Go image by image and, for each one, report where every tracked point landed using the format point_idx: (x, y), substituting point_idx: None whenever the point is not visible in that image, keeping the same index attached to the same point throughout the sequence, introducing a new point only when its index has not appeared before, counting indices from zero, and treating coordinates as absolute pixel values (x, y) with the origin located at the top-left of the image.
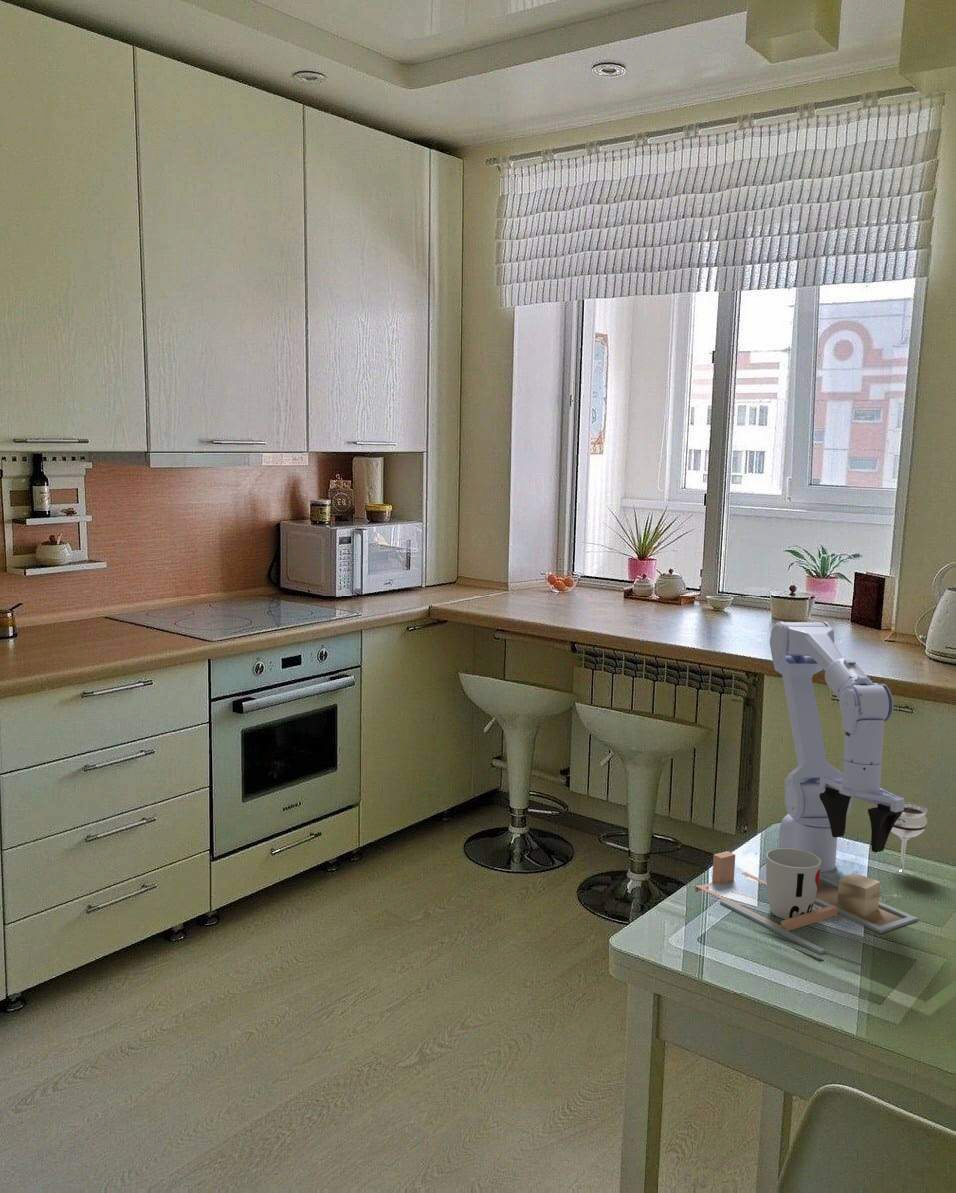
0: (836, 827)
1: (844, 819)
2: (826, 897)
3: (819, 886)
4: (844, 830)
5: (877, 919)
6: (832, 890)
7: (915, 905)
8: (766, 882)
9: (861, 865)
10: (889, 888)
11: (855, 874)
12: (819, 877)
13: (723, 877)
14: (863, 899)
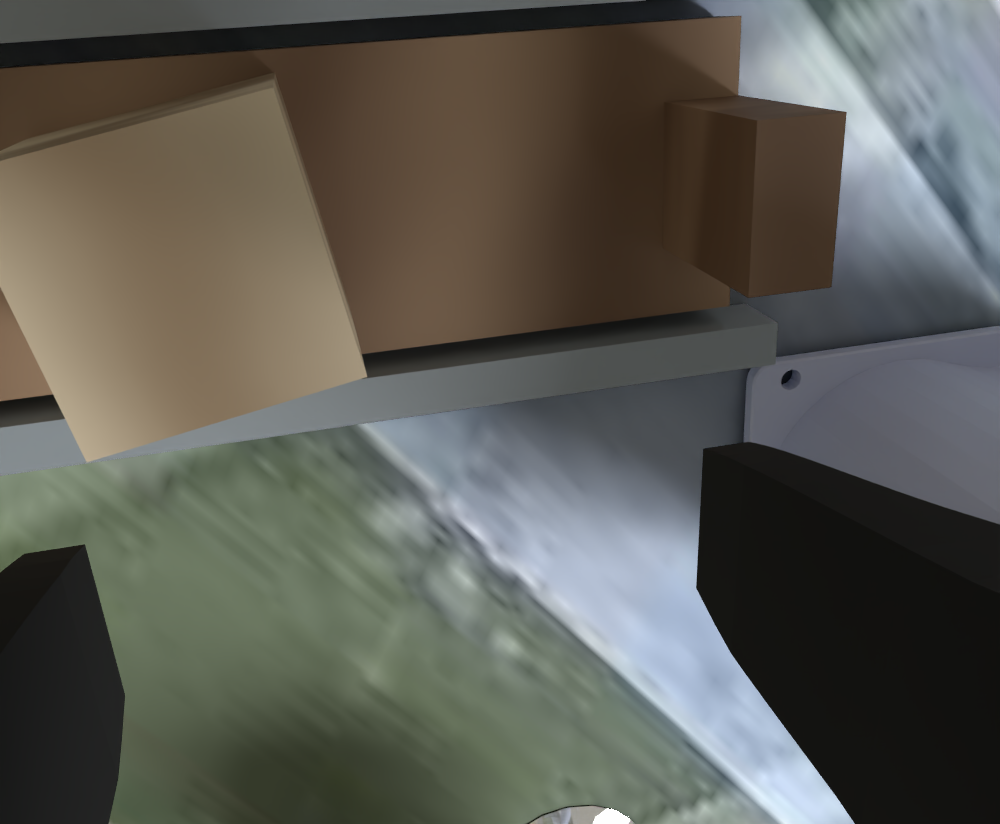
0: (777, 533)
1: (817, 739)
2: (458, 142)
3: (629, 251)
4: (726, 637)
5: None
6: (533, 289)
7: (201, 688)
8: None
9: (758, 760)
10: (461, 705)
11: (321, 362)
12: (718, 346)
13: None
14: (4, 152)
